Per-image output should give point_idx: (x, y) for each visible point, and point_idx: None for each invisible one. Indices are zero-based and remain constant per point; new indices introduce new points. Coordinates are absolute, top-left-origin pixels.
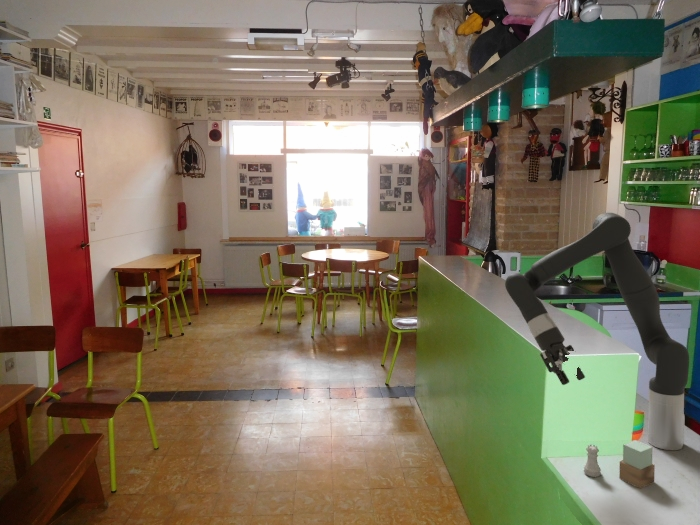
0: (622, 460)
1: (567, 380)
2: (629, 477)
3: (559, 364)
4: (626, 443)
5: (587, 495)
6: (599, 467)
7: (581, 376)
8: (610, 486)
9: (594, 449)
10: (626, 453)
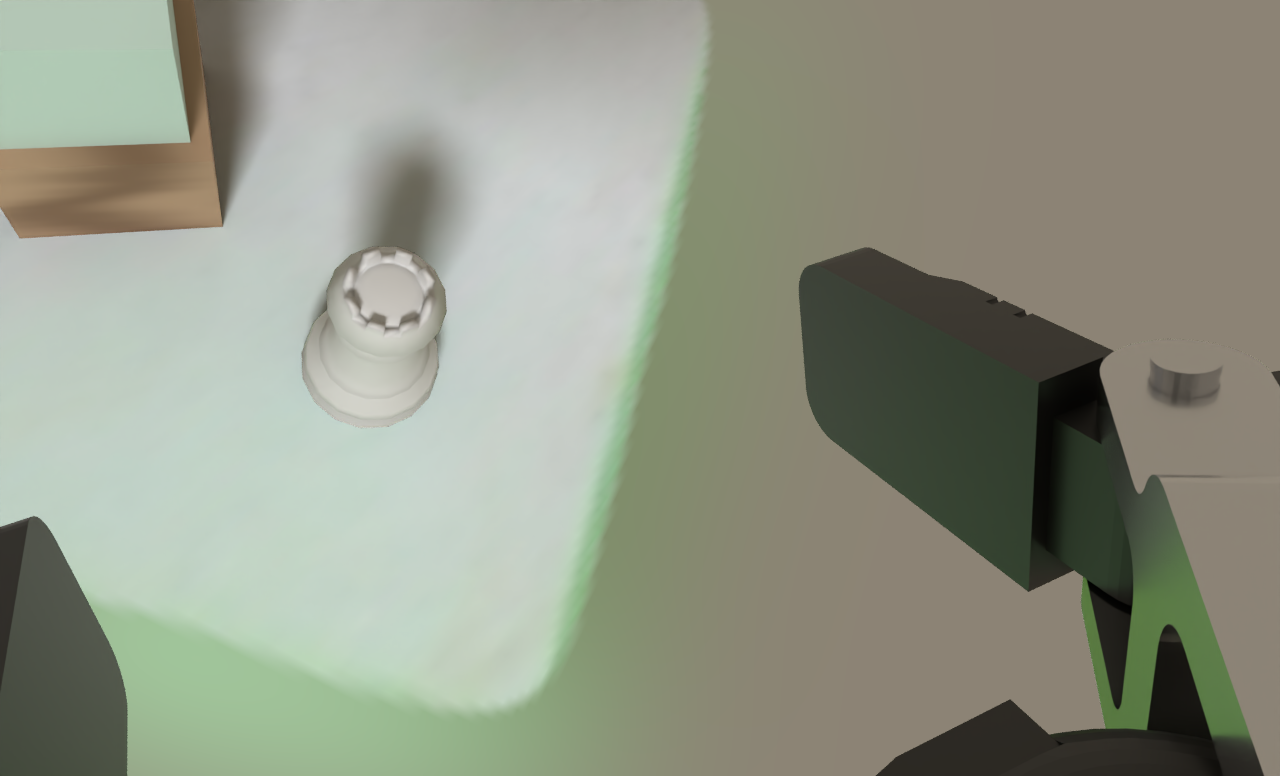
0: (173, 159)
1: (879, 258)
2: (209, 123)
3: (1265, 461)
4: (117, 46)
5: (613, 176)
6: (324, 319)
7: (52, 595)
8: (385, 180)
9: (406, 251)
10: (177, 60)
